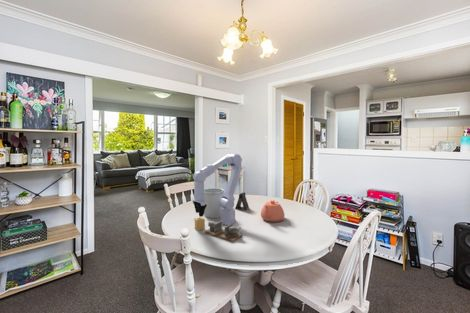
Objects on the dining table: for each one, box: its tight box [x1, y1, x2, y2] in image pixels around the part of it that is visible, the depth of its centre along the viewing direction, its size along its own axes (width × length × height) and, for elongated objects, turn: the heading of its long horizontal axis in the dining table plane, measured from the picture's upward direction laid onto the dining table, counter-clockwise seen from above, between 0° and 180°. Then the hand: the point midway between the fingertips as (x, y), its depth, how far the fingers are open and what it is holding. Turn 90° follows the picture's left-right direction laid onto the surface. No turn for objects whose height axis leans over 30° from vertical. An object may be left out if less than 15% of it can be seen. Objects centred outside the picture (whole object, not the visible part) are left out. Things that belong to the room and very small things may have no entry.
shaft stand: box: [203, 220, 244, 243], centre depth 128 cm, size 20×9×6 cm, turn 55°
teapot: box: [260, 199, 285, 223], centre depth 153 cm, size 22×16×12 cm
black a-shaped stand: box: [234, 192, 250, 211], centre depth 176 cm, size 9×6×12 cm, turn 64°
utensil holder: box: [203, 187, 225, 218], centre depth 162 cm, size 15×15×18 cm
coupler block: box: [194, 216, 206, 231], centre depth 137 cm, size 5×4×6 cm
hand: (199, 214), depth 137 cm, fingers open, 7 cm apart
